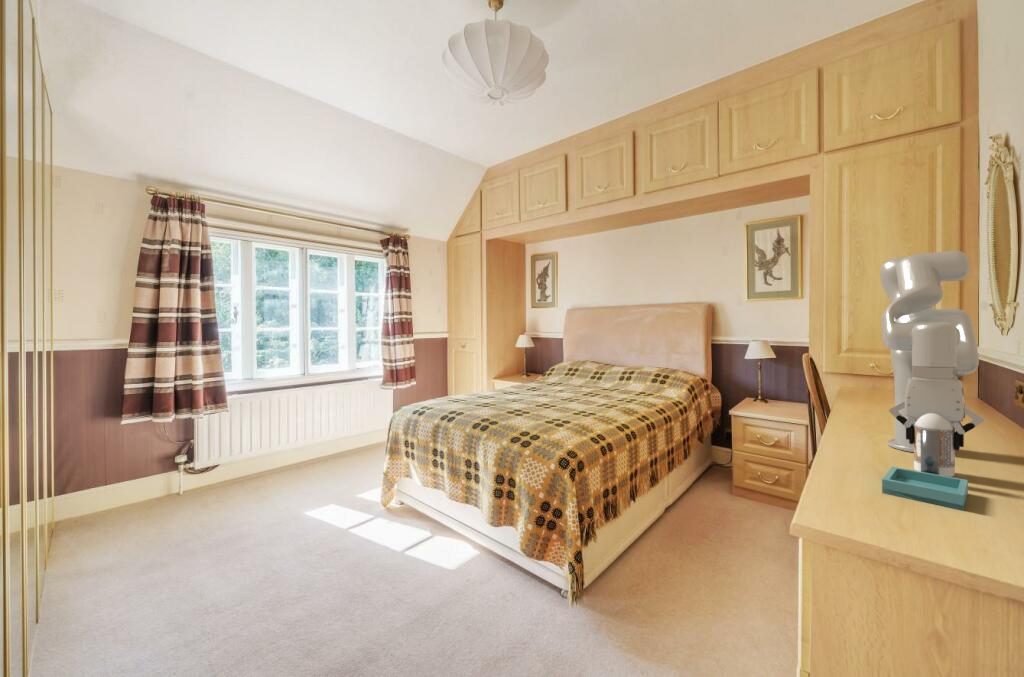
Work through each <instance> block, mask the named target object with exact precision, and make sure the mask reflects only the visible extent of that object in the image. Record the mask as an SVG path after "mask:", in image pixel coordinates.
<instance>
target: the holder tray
mask: <svg viewBox="0 0 1024 677" xmlns="http://www.w3.org/2000/svg"><path fill="white" fill-rule="evenodd" d="M968 486H969V483H968V479H964V478H959V477H954V476H953V477H948V476H943V475H937V474H931V473H926V472H920V471H916V470H915V469H909V468H903V467H899V466H897V467H896V466H891V467H890V468H889V470H888V471H887V472H886V474H885V475H884V476H883V477H882V478H881V491H882V494H886V495H891V496H896V497H900V498H903V499H904V498H905V499H909V500H913V501H918V502H921V503H926V504H927V503H928V504H931V505H935V506H936V505H937V506H941V507H946V508H950V509H955V510H959V511H963V512H964V511H965V506H966V503H967V499H968V495H969V494H968V492H969V489H968V488H969V487H968Z"/></svg>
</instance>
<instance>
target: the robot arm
mask: <svg viewBox="0 0 1024 677" xmlns="http://www.w3.org/2000/svg"><path fill="white" fill-rule="evenodd" d="M970 267H971V264H970V260H969V258H968V256H967V255H966V253H965V252H963V251H961V250H948V251H947V250H945V251H937V252H935V251H934V252H925V253H918V254H911V255H908V256H901V257H895V258H892V259H888V260H886V261H885V262H883V263H882V265H881V266H880V269H879V278H880V283H881V286H882V289H883V291H884V293H885V294H886V296H887V298H888V299H889V301H890V303H889V305H888V306H887V307H886V308H885V309H884V311H883V313H882V316H881V325H880V326H881V337H882V341H883V344H884V346H885V347H886V349H889V351H890V354H889V355H890V361H891V365H892V366H891V367H892V370H893V372H892V373H893V379H894V382H893V383H894V406H893V407H891V408H890V409H888V411H889V413H890V414H891V415H892V416H893V417H894V438H891V439H889V440H887V445H888V446H889V447H892V448H894V449H897V450H900V451H905V452H911V453H914V421H915V420H916V419H918V418H920V417H921V416H923V415H925V414H928V413H934V414H938V415H940V416H942V417H943V418H944V419H946V420H947V421H948V422H951V424H952V425H953V427H954V428H955V433H954V450H955V452H956V451H957V452H958V451H960V448H964V446H965V444H964V443H965V442H964V441H965V440H964V438H965V436H964V435H965V434H966V433H968V432H969V431H971V430H973V429H974V428H977V426H979V425H980V424H982V423H983V422H985V418H984V417H983V416H981V415H980V414H979V413H977V412H975V411H974V410H972V409H971V408H968V407H967V406H966V402H965V391H964V386H963V382H962V380H961V379H957V378H959V377H962V376H963V377H964V376H966V375H969V374H973V373H974V372H976V371H977V370H978V367H979V364H980V356H979V351H978V346H977V340H976V337H975V330H974V326H973V321H972V318H971V316H970V315H969V313H967V312H966V311H965V310H963V309H958V308H940V309H938V308H937V309H936V308H932V307H934V306H935V305H937V304H939V303H940V302H941V301H942V300H943V297H944V291H943V287H942V283H945V282H960V281H964V280H965V279H966V278H967V276H968V275H969V273H970ZM941 282H942V283H941ZM966 416H968V417H969V418H971V419H972V420H970V422H967V423H966V424H964V425H963V424H962V422H963V421H964V419H966V418H965V417H966Z"/></svg>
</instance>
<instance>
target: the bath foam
mask: <svg viewBox="0 0 1024 677" xmlns="http://www.w3.org/2000/svg"><path fill="white" fill-rule="evenodd" d="M921 429H934V430H938V431H939V475H943V476H948V477H954V476H955V474H956V450H954V433H955V432H956V429H955V428H954V427H953V425H952V424H951V422H948V421H947V420H946V419H944V418H943V417H942V416H940V415H938V414H934V413H928V414H925V415H923V416H921V417H920V418H918V419H916V420H915V421H914V452H913V468H914V469H913V470H915V471H920V472H921Z"/></svg>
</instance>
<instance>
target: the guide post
mask: <svg viewBox="0 0 1024 677" xmlns="http://www.w3.org/2000/svg"><path fill="white" fill-rule="evenodd" d="M921 472H926V473H931V474H937V475H939V431H938V430H934V429H921Z"/></svg>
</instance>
